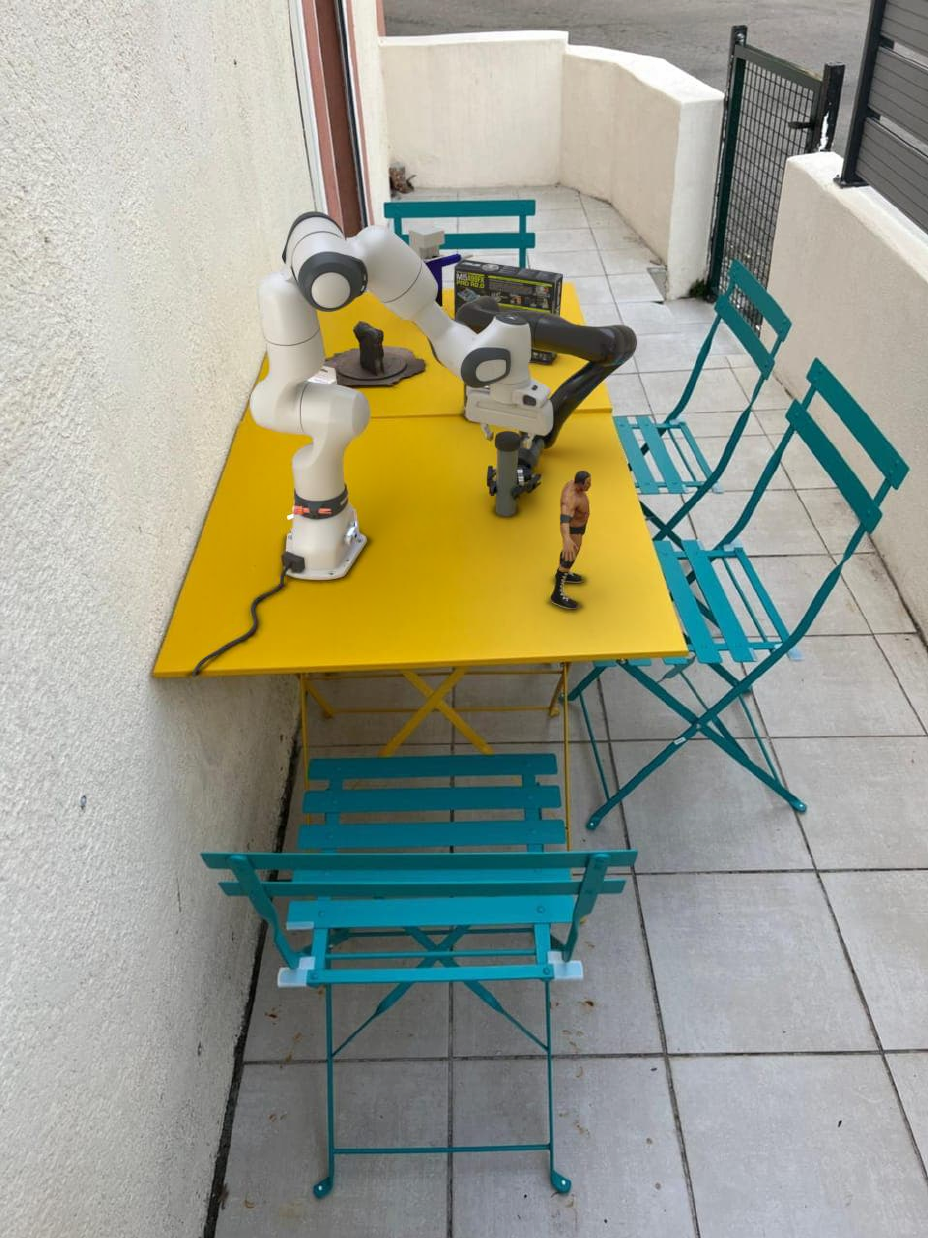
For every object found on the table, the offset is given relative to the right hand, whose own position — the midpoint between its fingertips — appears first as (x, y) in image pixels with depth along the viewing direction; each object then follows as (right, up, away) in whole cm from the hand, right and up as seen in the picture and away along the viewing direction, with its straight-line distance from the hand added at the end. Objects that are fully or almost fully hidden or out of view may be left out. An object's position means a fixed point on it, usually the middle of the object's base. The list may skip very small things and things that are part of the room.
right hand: (503, 494), depth 210 cm
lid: (+1, +12, -7) cm, 14 cm away
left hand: (+1, +11, -6) cm, 13 cm away
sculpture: (-39, +49, +68) cm, 93 cm away
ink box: (-49, +28, +43) cm, 71 cm away
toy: (-21, +74, +97) cm, 124 cm away
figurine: (+13, -24, -19) cm, 33 cm away
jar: (+1, -3, +6) cm, 7 cm away
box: (+4, +57, +76) cm, 95 cm away
